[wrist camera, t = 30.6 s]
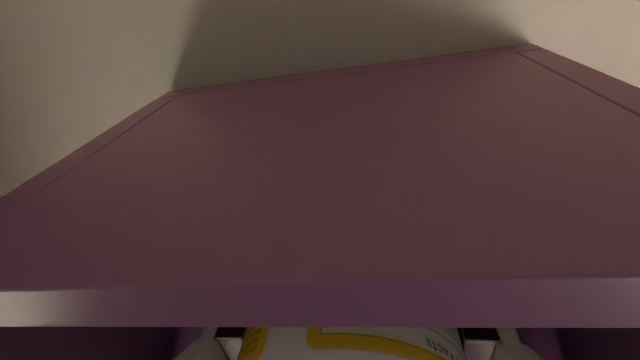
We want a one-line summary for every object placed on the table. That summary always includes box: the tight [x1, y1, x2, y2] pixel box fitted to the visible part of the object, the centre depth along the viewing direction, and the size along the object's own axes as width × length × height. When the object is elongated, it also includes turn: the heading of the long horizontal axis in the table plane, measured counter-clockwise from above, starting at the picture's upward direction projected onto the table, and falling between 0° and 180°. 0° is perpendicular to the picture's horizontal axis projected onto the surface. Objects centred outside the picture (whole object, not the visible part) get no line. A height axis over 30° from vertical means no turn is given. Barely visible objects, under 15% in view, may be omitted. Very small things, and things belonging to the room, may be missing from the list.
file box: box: [0, 44, 640, 360], centre depth 13 cm, size 18×14×10 cm
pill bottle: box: [237, 327, 466, 360], centre depth 10 cm, size 6×6×12 cm
